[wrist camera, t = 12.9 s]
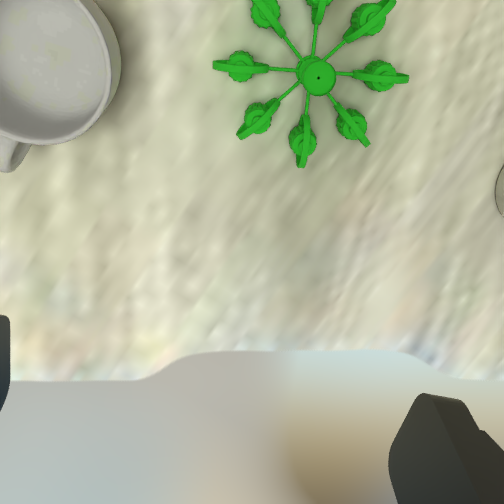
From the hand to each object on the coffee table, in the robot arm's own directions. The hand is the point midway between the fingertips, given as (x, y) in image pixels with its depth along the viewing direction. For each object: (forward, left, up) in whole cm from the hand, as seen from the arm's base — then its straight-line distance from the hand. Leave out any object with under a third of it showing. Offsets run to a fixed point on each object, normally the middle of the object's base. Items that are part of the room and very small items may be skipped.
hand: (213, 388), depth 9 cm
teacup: (+15, +1, -33) cm, 36 cm away
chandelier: (-5, -4, -33) cm, 34 cm away
